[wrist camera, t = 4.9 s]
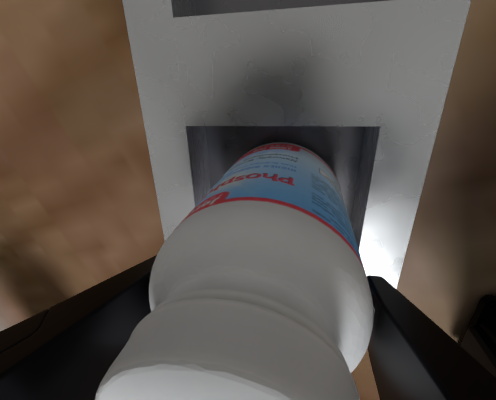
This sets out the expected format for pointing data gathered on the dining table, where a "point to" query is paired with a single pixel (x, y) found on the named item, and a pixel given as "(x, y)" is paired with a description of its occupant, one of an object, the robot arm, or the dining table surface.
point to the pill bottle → (254, 292)
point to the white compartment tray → (298, 99)
